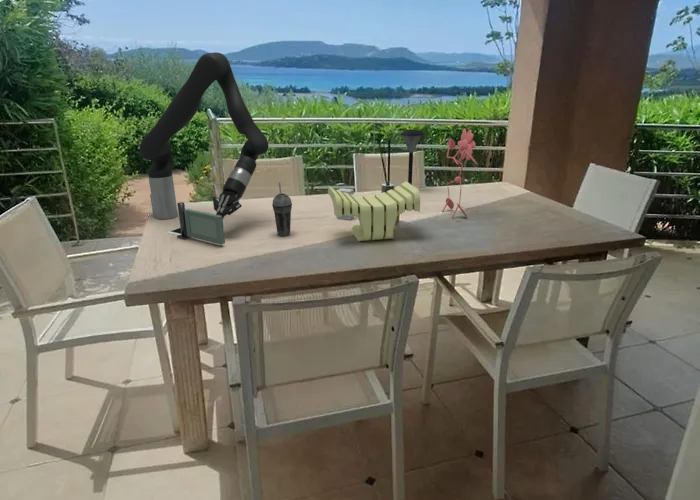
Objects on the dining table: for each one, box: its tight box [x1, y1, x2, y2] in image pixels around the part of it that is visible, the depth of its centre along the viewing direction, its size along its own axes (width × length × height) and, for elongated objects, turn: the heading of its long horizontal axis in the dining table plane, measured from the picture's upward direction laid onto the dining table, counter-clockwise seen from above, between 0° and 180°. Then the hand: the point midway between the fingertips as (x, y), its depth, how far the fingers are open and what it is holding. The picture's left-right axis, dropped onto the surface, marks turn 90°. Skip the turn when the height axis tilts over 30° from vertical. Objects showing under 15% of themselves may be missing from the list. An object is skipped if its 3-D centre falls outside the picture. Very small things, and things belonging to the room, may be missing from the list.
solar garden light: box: [398, 129, 426, 186], centre depth 233 cm, size 12×12×30 cm
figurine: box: [441, 128, 479, 223], centre depth 200 cm, size 15×26×35 cm, turn 15°
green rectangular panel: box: [184, 208, 226, 246], centre depth 173 cm, size 17×2×10 cm, turn 58°
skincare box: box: [336, 187, 355, 221], centre depth 199 cm, size 6×4×12 cm
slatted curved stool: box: [327, 180, 421, 242], centre depth 178 cm, size 30×16×18 cm, turn 103°
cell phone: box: [166, 226, 181, 236], centre depth 190 cm, size 8×16×1 cm, turn 149°
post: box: [176, 201, 192, 241], centre depth 178 cm, size 4×4×13 cm
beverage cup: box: [272, 182, 293, 237], centre depth 179 cm, size 7×7×20 cm
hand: (216, 222), depth 175 cm, fingers closed
